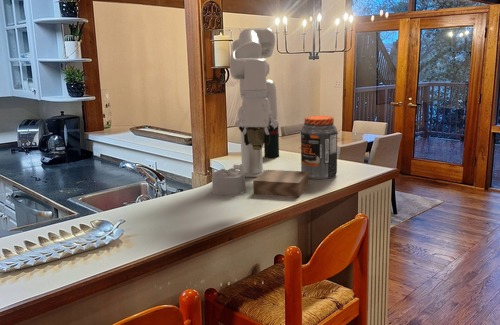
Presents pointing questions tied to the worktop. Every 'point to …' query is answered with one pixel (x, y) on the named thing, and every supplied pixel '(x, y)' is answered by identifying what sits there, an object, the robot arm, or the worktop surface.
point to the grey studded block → (228, 182)
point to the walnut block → (281, 183)
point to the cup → (256, 137)
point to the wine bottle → (272, 145)
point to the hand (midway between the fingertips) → (257, 144)
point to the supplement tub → (319, 147)
